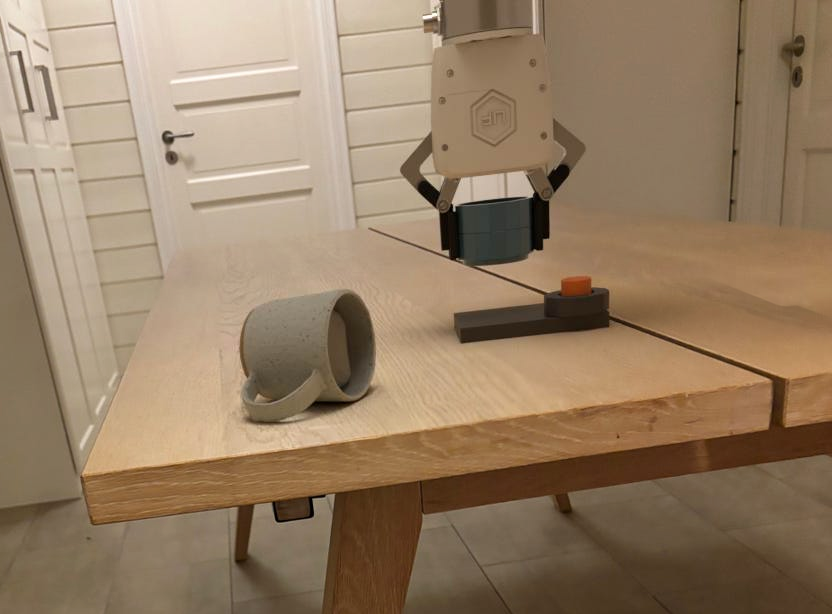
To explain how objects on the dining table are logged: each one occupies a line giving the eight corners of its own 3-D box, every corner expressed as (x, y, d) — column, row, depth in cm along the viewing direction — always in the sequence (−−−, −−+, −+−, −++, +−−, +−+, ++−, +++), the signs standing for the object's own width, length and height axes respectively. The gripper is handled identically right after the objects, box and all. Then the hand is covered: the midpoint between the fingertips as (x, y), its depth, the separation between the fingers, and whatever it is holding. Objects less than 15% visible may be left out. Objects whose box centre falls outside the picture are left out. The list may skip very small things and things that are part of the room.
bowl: (528, 253, 90) (526, 194, 88) (538, 260, 84) (537, 198, 82) (455, 261, 91) (452, 203, 88) (460, 269, 84) (457, 207, 82)
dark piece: (592, 312, 92) (592, 279, 91) (614, 329, 84) (614, 293, 82) (454, 328, 93) (452, 295, 92) (461, 346, 85) (459, 310, 83)
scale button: (588, 293, 86) (588, 275, 85) (593, 297, 84) (593, 278, 83) (559, 296, 86) (558, 278, 86) (563, 300, 84) (563, 281, 83)
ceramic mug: (290, 386, 77) (275, 286, 74) (382, 386, 73) (371, 280, 70) (218, 425, 69) (197, 314, 65) (317, 426, 65) (300, 309, 62)
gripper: (381, 31, 76) (400, 269, 84) (602, 2, 75) (600, 247, 83) (381, 41, 83) (399, 260, 91) (584, 14, 82) (584, 239, 90)
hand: (495, 252), depth 87 cm, fingers closed on bowl, 6 cm apart
